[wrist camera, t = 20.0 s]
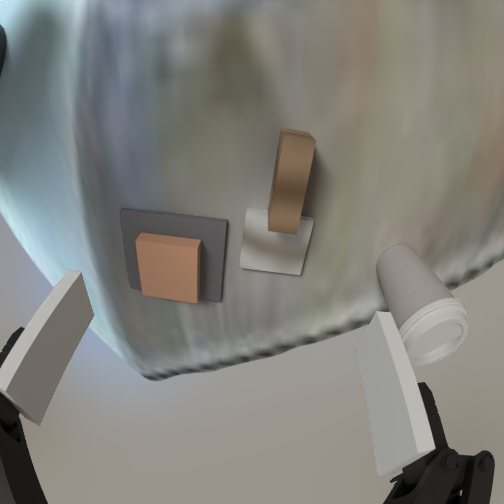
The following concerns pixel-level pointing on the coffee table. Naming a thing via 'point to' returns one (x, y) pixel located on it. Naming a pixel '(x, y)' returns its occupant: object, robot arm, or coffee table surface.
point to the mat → (185, 227)
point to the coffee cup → (421, 306)
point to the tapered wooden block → (282, 211)
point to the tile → (169, 267)
